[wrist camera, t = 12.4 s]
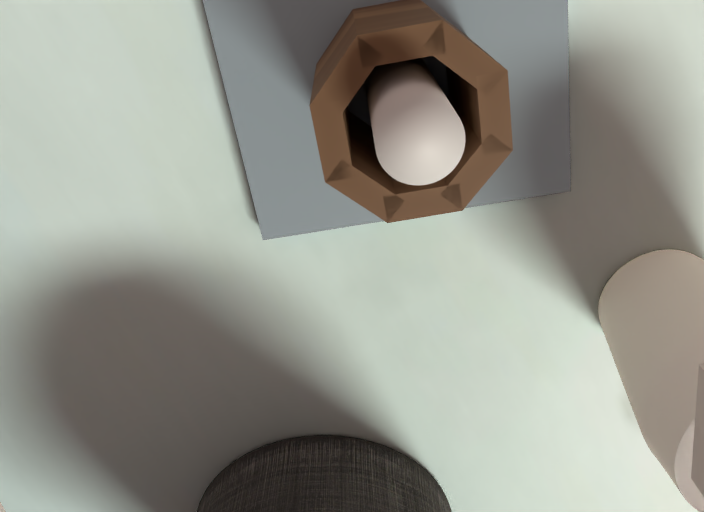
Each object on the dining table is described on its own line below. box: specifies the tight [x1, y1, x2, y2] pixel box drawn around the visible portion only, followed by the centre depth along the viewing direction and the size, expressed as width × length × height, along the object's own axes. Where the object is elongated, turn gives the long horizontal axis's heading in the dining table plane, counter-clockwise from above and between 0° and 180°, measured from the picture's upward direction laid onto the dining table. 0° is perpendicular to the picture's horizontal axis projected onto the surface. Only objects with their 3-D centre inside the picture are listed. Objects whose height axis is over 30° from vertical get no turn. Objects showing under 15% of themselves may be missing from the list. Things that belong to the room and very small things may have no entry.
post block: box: [203, 0, 571, 240], centre depth 27 cm, size 16×14×11 cm
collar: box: [309, 0, 513, 223], centre depth 27 cm, size 7×7×8 cm
